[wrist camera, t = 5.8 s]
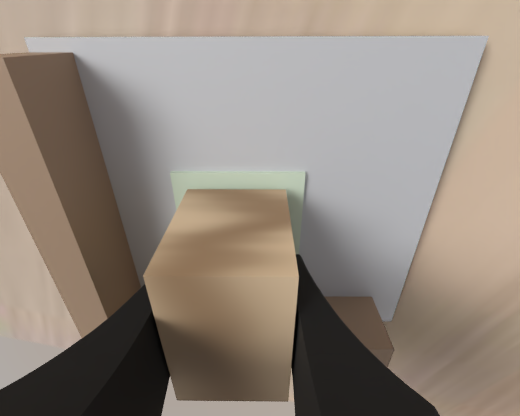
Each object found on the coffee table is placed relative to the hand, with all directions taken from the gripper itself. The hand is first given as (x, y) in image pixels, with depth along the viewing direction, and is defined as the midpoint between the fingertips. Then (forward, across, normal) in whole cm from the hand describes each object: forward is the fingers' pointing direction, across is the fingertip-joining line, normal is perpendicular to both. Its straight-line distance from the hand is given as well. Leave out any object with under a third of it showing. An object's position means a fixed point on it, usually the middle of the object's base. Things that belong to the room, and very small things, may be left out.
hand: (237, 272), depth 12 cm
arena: (+3, 0, -1) cm, 3 cm away
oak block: (+2, 0, 0) cm, 2 cm away
